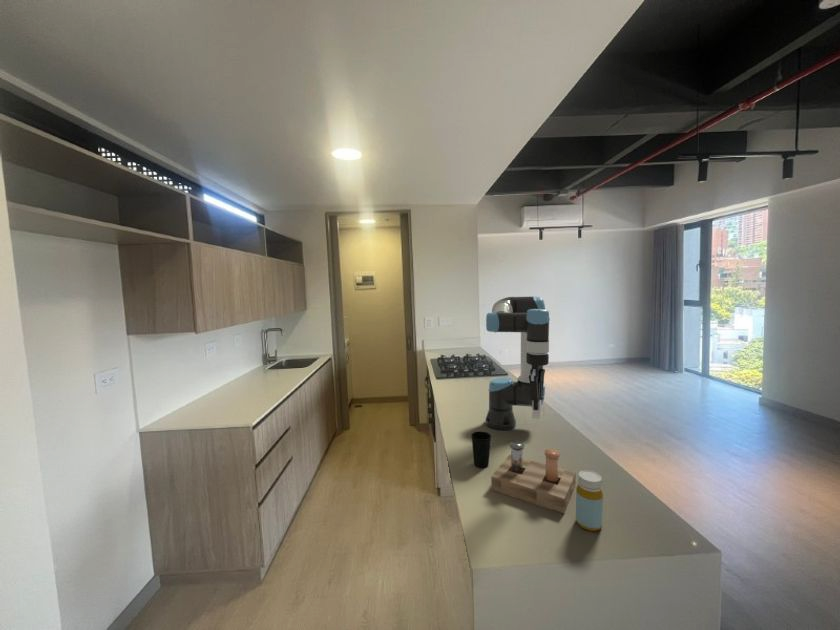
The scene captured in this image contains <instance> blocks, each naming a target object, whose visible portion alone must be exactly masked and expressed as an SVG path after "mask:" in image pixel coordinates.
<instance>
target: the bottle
mask: <svg viewBox="0 0 840 630" xmlns="http://www.w3.org/2000/svg"><path fill="white" fill-rule="evenodd" d="M577 478H578V479H577V481H578V484H577V487H576V489H575V490H576V495H575V496H576V499H575V521H576V523H577V525H578V526H579V527H580V528H581V529H584V530H585V529H586V531H588V530H589V532H598V531H599V530H600V529H602V527H603V509H604V506H603V503H604V493H603V490H602V485H603V484H602V483H603V478H602V476H601V475H600V474H599V473H598V472H595V471H592V470H581V471H579V472H578V477H577ZM597 530H598V531H597Z"/></svg>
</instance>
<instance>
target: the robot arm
mask: <svg viewBox="0 0 840 630" xmlns="http://www.w3.org/2000/svg"><path fill="white" fill-rule="evenodd" d="M485 319H486V320H485V327H486V328H485V329H486V331H487V332H492V333H520V375H519V376H518V377H517V379H516V381H514V380H513V378H511V377H498V378H493V379H492V380H490V382H489V384H488V411H487V413H486V416H485V425H486V426H487V427H488V428H491V429H494V430H497V431H509V430H513V429H515V428H516V427H517V420H516V416H515V413H514V411H513V407H514V406H518V407H531V409H532V411H531V412H532V413H531V416H532V417H531V418H533V419H538V420H541V418H542V405H543V404H544V400H545V395H546V384H545V383H544V382H545V374H546V369H545V368H544V366H547V365H549V362H550V361H549V359H550V358H549V357H550V356H549V352H550V321H551V320H550V311H549V310H548V309H546V306H545V301H544V298H543V297H542V296H507V297H503V298H501V299H499V300H497V301H496V302H495V303H494V304H493V305H492V308H491V312H488V313H486V318H485Z"/></svg>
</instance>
